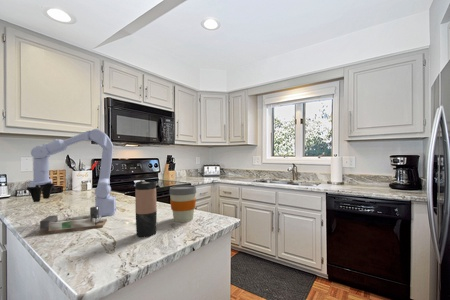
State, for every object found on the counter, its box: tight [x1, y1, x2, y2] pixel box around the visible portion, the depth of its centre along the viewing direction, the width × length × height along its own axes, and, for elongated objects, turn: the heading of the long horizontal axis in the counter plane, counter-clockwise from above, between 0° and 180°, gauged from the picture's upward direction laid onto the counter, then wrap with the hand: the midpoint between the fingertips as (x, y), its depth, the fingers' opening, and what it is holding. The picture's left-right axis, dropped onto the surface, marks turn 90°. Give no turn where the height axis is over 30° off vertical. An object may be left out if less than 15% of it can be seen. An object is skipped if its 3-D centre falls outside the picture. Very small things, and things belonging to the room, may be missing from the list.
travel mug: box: [134, 180, 158, 238], centre depth 83 cm, size 8×8×20 cm
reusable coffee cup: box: [168, 184, 197, 223], centre depth 101 cm, size 13×13×15 cm
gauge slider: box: [88, 206, 102, 223], centre depth 93 cm, size 4×8×6 cm, turn 19°
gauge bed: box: [39, 214, 108, 235], centre depth 92 cm, size 22×9×5 cm, turn 109°
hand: (41, 200), depth 102 cm, fingers open, 7 cm apart
